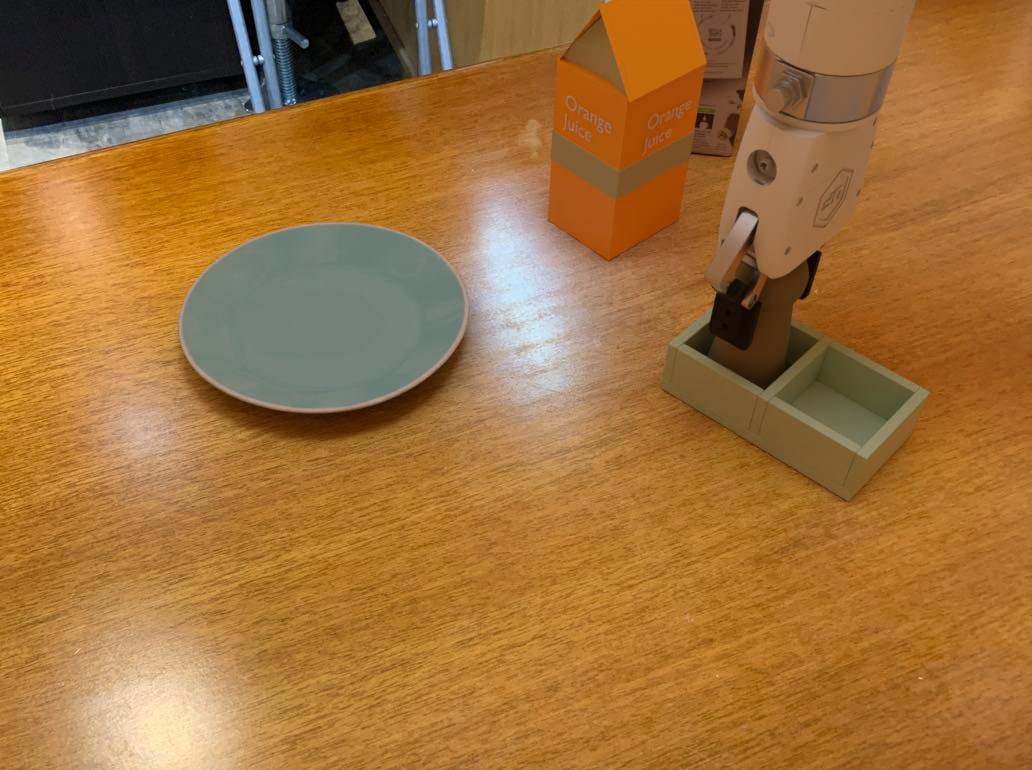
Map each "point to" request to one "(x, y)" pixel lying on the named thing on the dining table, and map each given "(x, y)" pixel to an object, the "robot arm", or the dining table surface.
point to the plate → (323, 317)
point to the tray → (803, 404)
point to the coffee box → (723, 69)
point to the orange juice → (625, 123)
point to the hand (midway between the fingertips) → (759, 312)
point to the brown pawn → (765, 328)
